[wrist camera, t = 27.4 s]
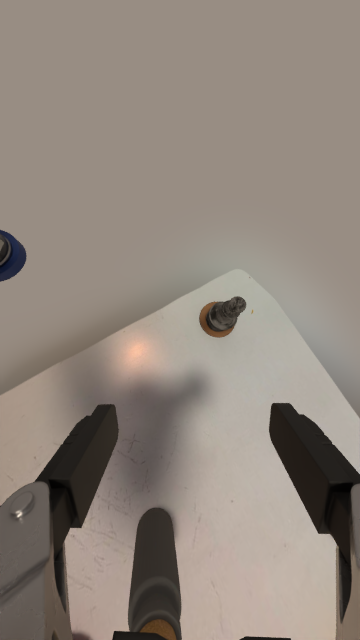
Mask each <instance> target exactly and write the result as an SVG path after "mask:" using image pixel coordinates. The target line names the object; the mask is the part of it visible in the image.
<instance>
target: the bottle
mask: <svg viewBox="0 0 360 640" xmlns="http://www.w3.org/2000/svg"><path fill="white" fill-rule="evenodd" d="M180 616H181V594H180V584H179V575H178V567H177V558H176V550H175V541H174V532H173V525H172V521H171V518H170V516H169V514H168V513H167V512H166V511H164V510H163V509H160V508H154V509H151V510H149V511H147V512H146V513H145V514H144V515H143V516H142V518H141V520H140V522H139V524H138V528H137V534H136V543H135V552H134V561H133V570H132V579H131V588H130V598H129V609H128V625H129V630H130V632H148V633H157V634H159V635H161V636H163V637H164V638H166V639H168V640H182V637H181V627H180V621H179V620H180Z"/></svg>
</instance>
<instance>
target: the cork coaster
mask: <svg viewBox="0 0 360 640" xmlns="http://www.w3.org/2000/svg"><path fill="white" fill-rule="evenodd" d="M215 303H217V302H211V303H209V304H207V305H206V306H204V308H203V309H202V310H201V313H200V318H199V319H200V324H201V327H202V328H203V330H204V331H205V332H206V333H207V334H209V335H210V336H213V337H224V336H226V335H228V334H229V333H230V332H231V331H232V330H233V328H234V326H235V325H234V326H233V327H232V328H230V329H228V330H223V331H221V332H216V331H213V330H212V329H210V328H209V327H208V325H207V323H206V315H207V313H208V312H209V311H210V308H211V307H212V306H213V305H214V304H215Z"/></svg>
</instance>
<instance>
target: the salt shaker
mask: <svg viewBox="0 0 360 640" xmlns="http://www.w3.org/2000/svg"><path fill="white" fill-rule="evenodd" d="M245 308H246V302H245V300H244V299H243V298H242V297H238V296H237V297H234V298H232V299H231V300H229V301H226V302H217V303H215V304H214V305H213V306H212V307H211V308H210V311H209V312H208V313H207V315H206V323H207V325H208V327H209V328H210V329H212V330H213V331H216V332H221V331H223V330H228V329H230V328H232V327H233V326H234V325H235V324H236V322H237V317H238V316H239V315H240V313H241V312H243V311H244V310H245Z"/></svg>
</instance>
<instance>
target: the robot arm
mask: <svg viewBox="0 0 360 640" xmlns="http://www.w3.org/2000/svg"><path fill="white" fill-rule="evenodd" d="M12 252H13V249H12V245H11V243H10V241H9V240H8V239H7V238H5V237H4V236H3V235H2V234H0V268H1V267H2V266H4V265H5V264H6V263H7V262H8V261H9V260H10V258H11V256H12ZM118 433H119V429H118V421H117V415H116V408H115V405H114V404H103V405H98V406H97V407H96V409H95V410H94V412H93V413H92V415H91V416H86V417H85V418H83V419H82V420H81V421H80V422H78V423H77V424H76V426H75V427H74V428H73V430H72V431H71V432H70V435H69V436H68V437H67V438H66V439H65V441H64V442H63V444H62V445H61V446H60V448H59V449H58V450H57V452H56V453H55V454H54V456H53V457H52V459H51V460H50V461H49V463H48V464H47V465H46V467H45V468H44V470H43V471H42V472H41V474H40V475H39V476H38V478H37V479H36V480H35V482H33V483H30V484H28V485H25V486H24V487H22V488H20V489H19V490H17V491H16V492H15V493H13V494H12V495H11V496H10V497H9V498H8V499H7V500H6V501H5V502H4V503H3V504H2V505H1V506H0V640H73V636H72V631H71V624H70V614H69V599H68V585H67V570H66V555H65V543H64V541H65V538H66V536H67V534H68V532H69V530H70V528H81V527H82V525H83V523H84V520H85V518H86V515H87V513H88V510H89V508H90V506H91V503H92V501H93V498H94V496H95V493H96V491H97V489H98V486H99V484H100V481H101V479H102V477H103V474H104V472H105V469H106V467H107V464H108V462H109V460H110V457H111V455H112V452H113V450H114V447H115V445H116V442H117V439H118ZM269 433H270V438H271V441H272V443H273V445H274V447H275V449H276V451H277V453H278V455H279V457H280V459H281V461H282V463H283V465H284V467H285V469H286V471H287V473H288V475H289V477H290V479H291V481H292V483H293V485H294V486H295V488H296V490H297V492H298V494H299V496H300V498H301V500H302V502H303V504H304V506H305V508H306V510H307V512H308V514H309V516H310V518H311V520H312V522H313V524H314V526H315V528H316V530H317V532H318V534H331V535H332V536H333V538H334V540H335V542H336V543H337V547H336V640H360V474H359V473H358V472H357V471H356V470H355V468H354V467H353V466H352V465H351V464H350V463H349V461H348V460H347V459H346V458H345V457H344V456H343V455H342V453H341V452H340V451H339V450H338V449H337V448H336V446H335V445H333V444H332V442H331V441H330V440H329V438H328V437H327V436H325V435H324V433H323V431H322V430H321V429H320V428H319V427H318V426H317V424H316V423H314V422H313V421H312V420H310V419H309V418H308V417H306V416H305V415H299V414H298V413H297V411H296V410H295V409H294V408H293V406H292V405H291V404H290V403H273V404H272V406H271V414H270V424H269ZM112 640H168V639H166V638H164V637H163V636H161V635H159V634H157V633H148V632H124V631H114V634H113V639H112ZM240 640H291V638H271V637H247V636H246V637H244V638H242V639H240Z"/></svg>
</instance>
